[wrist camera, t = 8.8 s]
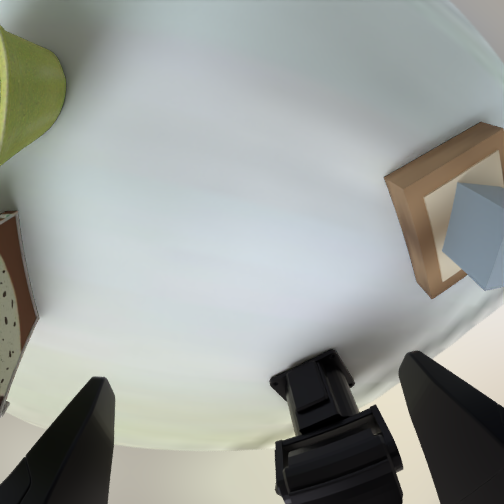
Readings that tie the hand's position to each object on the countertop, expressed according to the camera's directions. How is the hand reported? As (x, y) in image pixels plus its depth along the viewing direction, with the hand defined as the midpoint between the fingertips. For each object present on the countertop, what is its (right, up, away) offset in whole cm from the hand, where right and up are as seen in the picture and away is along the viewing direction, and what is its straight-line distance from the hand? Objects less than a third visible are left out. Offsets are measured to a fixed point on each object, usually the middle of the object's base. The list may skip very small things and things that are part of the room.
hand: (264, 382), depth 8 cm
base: (+15, +7, +12) cm, 21 cm away
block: (+15, +6, +10) cm, 19 cm away
